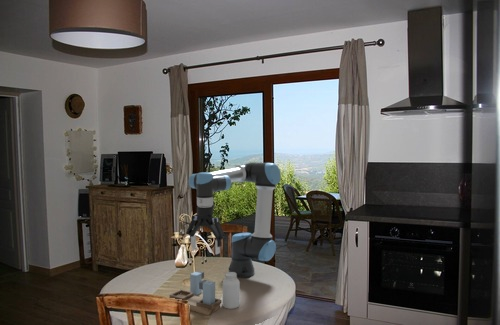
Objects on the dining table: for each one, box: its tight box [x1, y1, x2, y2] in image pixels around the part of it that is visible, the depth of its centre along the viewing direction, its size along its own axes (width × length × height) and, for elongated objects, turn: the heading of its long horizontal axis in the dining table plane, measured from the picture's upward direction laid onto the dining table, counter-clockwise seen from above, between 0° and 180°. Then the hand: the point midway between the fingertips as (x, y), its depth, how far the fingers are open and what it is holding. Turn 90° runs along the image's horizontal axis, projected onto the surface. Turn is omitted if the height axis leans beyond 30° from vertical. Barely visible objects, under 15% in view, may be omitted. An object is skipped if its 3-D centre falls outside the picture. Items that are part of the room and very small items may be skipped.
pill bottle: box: [222, 271, 241, 310], centre depth 173 cm, size 8×8×15 cm
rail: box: [168, 289, 222, 316], centre depth 173 cm, size 9×24×4 cm, turn 60°
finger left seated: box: [199, 279, 216, 305], centre depth 169 cm, size 6×4×10 cm, turn 60°
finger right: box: [189, 270, 205, 296], centre depth 189 cm, size 6×4×10 cm, turn 150°
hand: (205, 251), depth 174 cm, fingers open, 13 cm apart
